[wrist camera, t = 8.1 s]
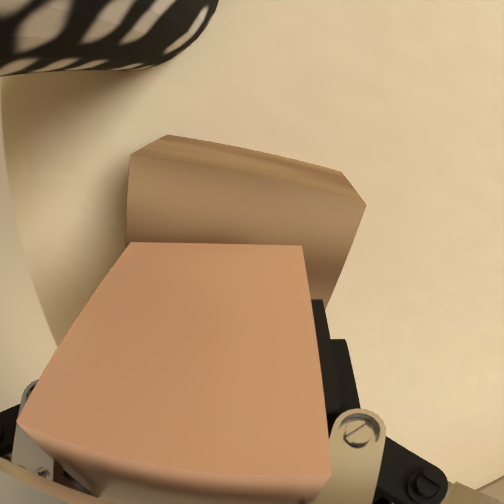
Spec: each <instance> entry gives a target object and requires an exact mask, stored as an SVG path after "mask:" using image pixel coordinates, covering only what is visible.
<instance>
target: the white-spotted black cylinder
mask: <svg viewBox="0 0 504 504" xmlns="http://www.w3.org/2000/svg"><path fill="white" fill-rule="evenodd" d="M218 1H219V0H0V77H1V76H8V75H17V74H26V73H37V72H52V71H74V70H118V71H131V70H140V69H145V68H148V67H152V66H155V65H158V64H160V63H162V62H165V61H167V60H169V59H171V58H173V57H174V56H176V55H177V54H179V53H180V52H182V51H183V50H185V49H186V48H187V47H188V46H189V45H190V44H191V43H192V42H194V41H195V40H196V39H197V38H198V37H199V35H200V34H201V33H202V32H203V30H204V29H205V28H206V27H207V25H208V24H209V22H210V20H211V18H212V16H213V14H214V13H215V10H216V7H217V4H218Z"/></svg>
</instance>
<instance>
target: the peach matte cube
mask: <svg viewBox="0 0 504 504" xmlns="http://www.w3.org/2000/svg"><path fill="white" fill-rule="evenodd" d="M16 422H17V423H18V424H19V425H20V427H21V428H22V429H23V430H24V431H25V432H26V433H27V434H28V435H29V436H30V437H31V438H32V439H33V441H34V442H35V443H36V444H37V445H38V446H39V447H40V448H41V449H42V450H43V451H44V452H45V453H46V454H47V455H49V456H50V457H52V458H54V459H55V460H56V461H57V462H58V463H60V464H61V465H62V466H63V467H64V470H65V471H66V472H67V473H68V474H69V475H70V476H72V477H73V478H74V479H75V480H76V481H78V482H79V483H80V484H81V485H82V486H84V487H85V488H86V489H87V490H89V491H92V492H93V493H95V494H96V495H97V496H98V497H99V498H100V499H103V500H106V501H110V502H113V503H117V504H307V502H308V500H309V499H316V498H317V497H318V495H319V493H320V492H321V490H322V489H323V487H324V486H325V484H326V482H327V481H328V479H329V478H330V476H331V474H332V469H331V458H330V447H329V437H328V427H327V418H326V409H325V400H324V392H323V383H322V375H321V368H320V360H319V352H318V345H317V338H316V331H315V324H314V317H313V311H312V304H311V298H310V291H309V285H308V279H307V273H306V267H305V261H304V255H303V249H302V246H296V245H254V244H208V243H155V242H131V243H130V244H129V245H128V247H127V248H126V249H125V250H124V252H123V253H122V254H121V256H120V257H119V259H118V260H117V261H116V263H115V264H114V265H113V267H112V268H111V269H110V271H109V272H108V274H107V275H106V276H105V278H104V279H103V281H102V282H101V283H100V285H99V286H98V288H97V289H96V290H95V292H94V293H93V295H92V296H91V298H90V299H89V301H88V302H87V304H86V305H85V306H84V308H83V309H82V311H81V312H80V314H79V315H78V317H77V318H76V320H75V322H74V323H73V325H72V326H71V328H70V329H69V331H68V332H67V334H66V335H65V337H64V339H63V340H62V342H61V343H60V345H59V347H58V348H57V350H56V352H55V353H54V355H53V357H52V358H51V360H50V361H49V363H48V365H47V366H46V368H45V370H44V372H43V373H42V375H41V377H40V379H39V380H38V382H37V384H36V386H35V387H34V389H33V391H32V393H31V395H30V396H29V398H28V400H27V402H26V404H25V406H24V407H23V409H22V411H21V413H20V415H19V417H18V419H17V421H16Z"/></svg>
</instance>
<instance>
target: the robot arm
mask: <svg viewBox="0 0 504 504" xmlns="http://www.w3.org/2000/svg"><path fill="white" fill-rule="evenodd" d="M311 304H312V311H313V317H314V324H315V331H316V338H317V345H318V352H319V360H320V368H321V375H322V383H323V392H324V400H325V409H326V418H327V427H328V437H329V447H330V458H331V469H332V474H331V476H330V478H329V479H328V481H327V482H326V484H325V486H324V487H323V489H322V490H321V492H320V493H319V495H318V497H317V498H316V499H309V500H308V502H307V504H503V503H502V502H500V501H499V500H497V499H495V498H492V497H490V496H487V495H485V494H483V493H480V492H478V491H476V490H474V489H471V488H469V487H467V486H465V485H462V484H460V483H458V482H455V483H454V484H453V483H451V482H449V481H447V477H446V476H445V474H444V473H443V471H441V470H440V469H439V468H438V467H436V466H434V465H433V464H431V463H429V462H427V461H426V460H424V459H422V458H421V457H419V456H417V455H416V454H414V453H412V452H411V451H409V450H407V449H406V448H404V447H403V446H401V445H399V444H398V443H396V442H394V441H393V440H391V439H390V438H388V437H386V427H385V425H384V422H383V421H382V419H381V418H380V417H379V416H378V415H377V414H375V413H374V412H372V411H369V410H366V409H361V408H360V403H359V398H358V393H357V388H356V383H355V378H354V374H353V369H352V364H351V360H350V355H349V351H348V347H347V343H346V341H345V339H330V334H329V329H328V324H327V318H326V313H325V308H324V303H323V300H322V299H311ZM38 380H39V379H38ZM38 380H36V381H34V382H32V383H31V384H29V385H28V386H27V388H26V389H25V390H24V393H23V395H22V399H21V404H18V405H16V406H14V407H11V408H9V409H7V410H5V411H2V412H0V504H117V503H113V502H110V501H106V500H103V499H100V498H99V497H98V496H97V495H96V494H95V493H93V492H92V491H89V490H87V489H86V488H85V487H84V486H82V485H81V484H80V483H79V482H78V481H76V480H75V479H74V478H73V477H72V476H70V475H69V474H68V473H67V472H66V471H65V470H64V467H63V466H62V465H61V464H60V463H58V462H57V461H56V460H55V459H54V458H52V457H50V456H49V455H47V454H46V453H45V452H44V451H43V450H42V449H41V448H40V447H39V446H38V445H37V444H36V443H35V442H34V441H33V439H32V438H31V437H30V436H29V435H28V434H27V433H26V432H25V431H24V430H23V429H22V428H21V427H20V425H19V424H18V423H17V422H16V421H17V419H18V417H19V415H20V413H21V411H22V409H23V407H24V406H25V404H26V402H27V400H28V398H29V396H30V395H31V393H32V391H33V389H34V387H35V386H36V384H37V382H38Z"/></svg>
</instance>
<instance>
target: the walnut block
mask: <svg viewBox="0 0 504 504" xmlns="http://www.w3.org/2000/svg"><path fill="white" fill-rule="evenodd" d="M365 207H366V204H365V202H364V201H363V200H362V198H361V197H360V196H359V194H358V193H357V192H356V190H355V189H354V188H353V186H352V185H351V184H350V182H349V181H348V180H347V179H346V177H345V176H344V175H343V173H342V172H340V171H336V170H333V169H329V168H325V167H322V166H318V165H314V164H310V163H306V162H302V161H298V160H294V159H290V158H286V157H281V156H277V155H273V154H268V153H264V152H259V151H254V150H250V149H245V148H240V147H235V146H230V145H225V144H219V143H214V142H208V141H203V140H197V139H191V138H185V137H178V136H172V135H166V136H164V137H162V138H160V139H158V140H157V141H155V142H153V143H151V144H149V145H147V146H145V147H144V148H142V149H140V150H138V151H136V152H135V153H133V154H131V155H130V164H129V177H128V193H127V213H126V248H127V247H128V245H129V244H130V243H131V242H155V243H208V244H254V245H296V246H302V249H303V255H304V261H305V267H306V273H307V279H308V285H309V291H310V298H311V299H322V300H323V303H324V308H325V309H326V307H327V304H328V302H329V300H330V297H331V295H332V292H333V290H334V288H335V285H336V283H337V280H338V278H339V276H340V273H341V271H342V268H343V266H344V263H345V261H346V258H347V256H348V253H349V250H350V248H351V245H352V243H353V240H354V237H355V235H356V232H357V229H358V227H359V224H360V221H361V218H362V216H363V213H364V210H365Z"/></svg>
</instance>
